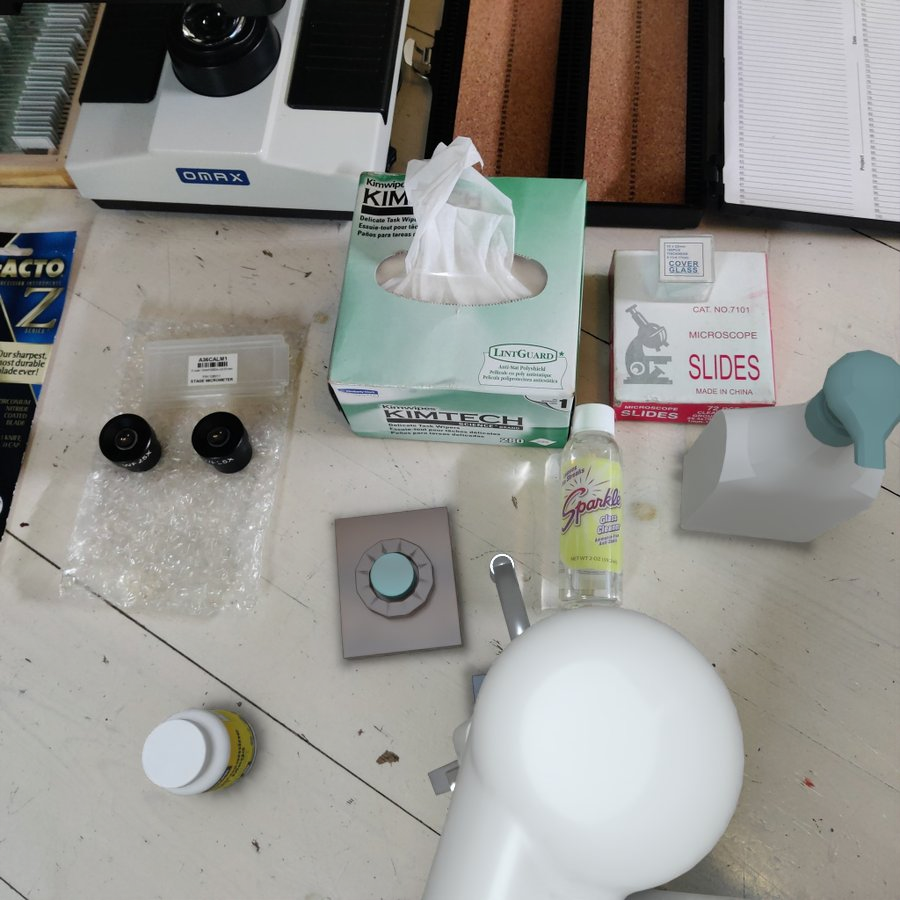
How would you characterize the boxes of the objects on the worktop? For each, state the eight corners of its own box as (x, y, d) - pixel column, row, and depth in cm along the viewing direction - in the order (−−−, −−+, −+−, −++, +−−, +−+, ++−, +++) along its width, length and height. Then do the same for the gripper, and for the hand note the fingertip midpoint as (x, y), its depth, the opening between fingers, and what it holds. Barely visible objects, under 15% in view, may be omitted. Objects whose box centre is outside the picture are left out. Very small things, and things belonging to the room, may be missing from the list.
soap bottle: (677, 548, 71) (781, 451, 45) (681, 459, 74) (782, 319, 48) (806, 563, 70) (988, 473, 44) (805, 473, 73) (978, 336, 47)
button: (417, 596, 68) (415, 593, 66) (375, 601, 68) (371, 598, 66) (413, 554, 69) (411, 550, 67) (371, 559, 69) (368, 555, 67)
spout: (580, 751, 50) (591, 755, 44) (524, 766, 50) (527, 772, 44) (524, 555, 54) (528, 536, 48) (472, 568, 54) (469, 551, 48)
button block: (463, 647, 70) (461, 643, 66) (347, 660, 70) (339, 657, 66) (448, 512, 73) (445, 500, 70) (339, 524, 74) (330, 514, 70)
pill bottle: (241, 799, 67) (193, 814, 56) (174, 773, 68) (115, 783, 57) (270, 724, 68) (229, 725, 58) (204, 699, 69) (152, 696, 59)
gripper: (412, 920, 31) (442, 847, 48) (805, 741, 32) (696, 733, 49) (344, 727, 33) (396, 724, 50) (713, 567, 34) (640, 618, 52)
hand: (545, 728), depth 50 cm, fingers closed on spout, 4 cm apart
